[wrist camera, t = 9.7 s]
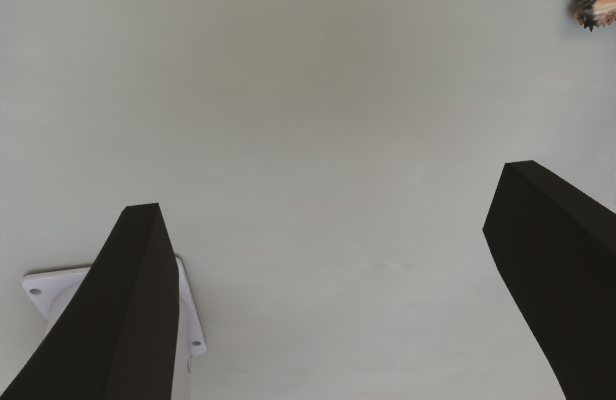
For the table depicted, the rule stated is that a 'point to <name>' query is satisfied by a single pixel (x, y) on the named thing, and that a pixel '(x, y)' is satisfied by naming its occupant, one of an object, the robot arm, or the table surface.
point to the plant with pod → (596, 13)
